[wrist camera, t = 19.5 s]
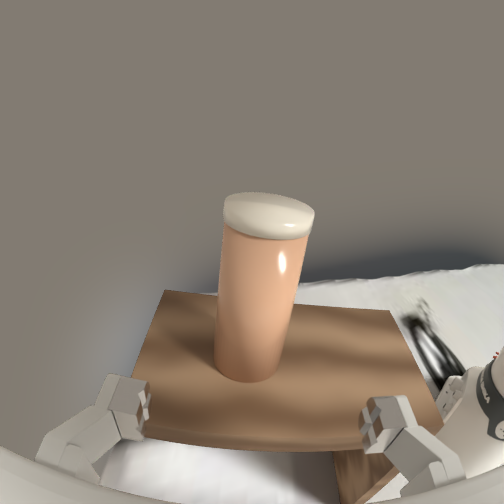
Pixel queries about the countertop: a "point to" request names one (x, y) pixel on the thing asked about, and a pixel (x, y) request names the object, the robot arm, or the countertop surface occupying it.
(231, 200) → the jar
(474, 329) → the countertop surface
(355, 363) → the shelf
